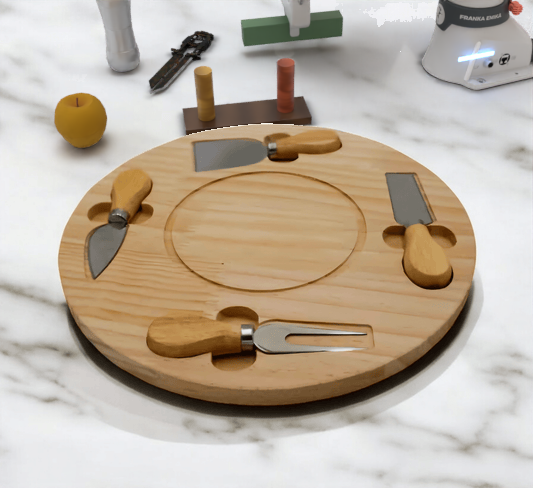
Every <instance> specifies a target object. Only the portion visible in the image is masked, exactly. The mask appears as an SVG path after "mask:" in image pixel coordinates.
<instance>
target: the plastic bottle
mask: <svg viewBox="0 0 533 488" xmlns="http://www.w3.org/2000/svg"><path fill="white" fill-rule="evenodd" d="M131 1H132V0H95V2H96V5H97V7H98V11H99V14H100V17H101V21H102V25H103V29H104V37H105V59H106V61H107V64H108V66H109V68H111V69H112V70H113V71H115V72H121V73H125V72H130V71H133V70H134V69H136V68H137V67H138V66H139V63H140V61H141V53H140V50H139V49H140V48H139V45H138V43H137V41H136V36H135V32H134V29H133V21H132V20H133V19H132V2H131Z"/></svg>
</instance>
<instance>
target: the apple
mask: <svg viewBox="0 0 533 488" xmlns="http://www.w3.org/2000/svg"><path fill="white" fill-rule="evenodd" d="M53 120H54V121H53V123H54V126H55V128H56V131H57V132H58V133H59V134H60V136H61V137H62V138H63V139H64V140H65V141H66V142H67V143H69V144H70V145H71V146H72V147H74V148H79V149H85V148H89V147H92V146H94V145H96V144H98V143H99V142H100V140H101V139H102V138H103V136H104V134H105V132H106V129H107V124H108V115H107V111H106V108H105V106H104V104H103V103H102V101H101V100H100V99H99V98H98V97H97V96H96V95H93V94H91V93H87V92H77V93H76V92H75V93H72V94H68V95H66V96H63V97H61V98H60V100H59V101H58V102H57V104H56V106H55V109H54V119H53Z"/></svg>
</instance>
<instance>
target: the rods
mask: <svg viewBox="0 0 533 488" xmlns="http://www.w3.org/2000/svg"><path fill="white" fill-rule="evenodd" d="M295 65H296V62H295V60H294V59H293V58H289V57H283V58H279V59H277V61H276V98H271V99H261V100H252V101H241V102H233V103H232V102H231V103H224V104H223V103H222V104H215V93H214V80H213V78H214V77H213V69H212V68H211V67H210V66H207V65H200V66H197V67H195V68H194V70H193V76H194V89H195V97H196V106H195V107H183V108H182V115H183V123H184V129H185V136H186V135H189V134H192V133H197V132H201V131H205V130H211V129H217V128H223V127H230V126H238V125H248V124H261V123H273V124H294V125H298V126H307V125H312V119H313V118H312V115H311V112H310V109H309V107H308V104H307V102H306V99H305V97H304V96H303V95H301V96H300V95H299V96H295V77H296V75H295V74H296V73H295V71H296V69H295V67H296V66H295Z"/></svg>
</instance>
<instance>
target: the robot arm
mask: <svg viewBox="0 0 533 488" xmlns="http://www.w3.org/2000/svg"><path fill="white" fill-rule="evenodd" d="M280 2H281V5H282V8H283V13H284V16H285V15H287V18H288V20H289V23H290V25H289V33H290V36H292V37H295V36H298V35H299V28H306V27H309V25H310V13H311V0H280ZM523 8H524V6H523V5H522V4H521V3H520V2H519V1H518V0H438V2H437V7H436V12H435V26H434V29H433V32H432V36H431V39H430V42H429V44H428V46H427V49H426V51H425V53H424V55H423V57H422V59H421V65H422V67H423V69H424V70H425V71H426V72H427V73H428V74H430V75H431V76H432V77H435V78H437V79H439V80H441V81H444V82H449V83H453V84H457V85H461V86H463V87H465V88H468V89H470V90H474V91H479V90H483V89H488V88H492V87H497V86H501V85H505V84H510V83H514V82H518V81H523V80H526V79H527V80H528V79H532V78H533V38H531V35H530V34H529V33H528V32H527V30H526V29H525V28H524V27H523V26H522V25H521V24H520V23H519V22H518V21H517V20H516V19H515V18H513V16H519V15H521V13H523V11H524V9H523ZM510 12H511V14H512V15H513V16H511V15H510Z"/></svg>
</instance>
